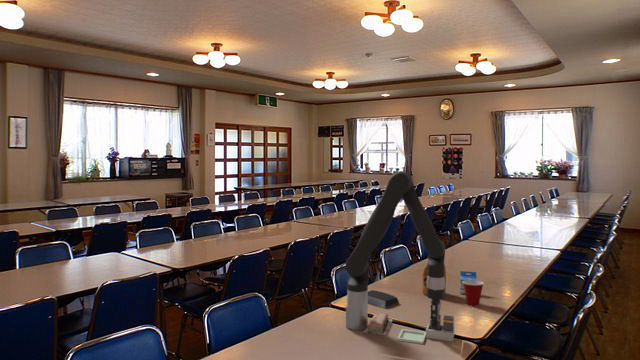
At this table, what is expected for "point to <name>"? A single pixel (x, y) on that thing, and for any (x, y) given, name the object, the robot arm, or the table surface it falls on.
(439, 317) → the plug
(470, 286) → the plastic cup
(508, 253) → the table surface
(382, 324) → the packaged product
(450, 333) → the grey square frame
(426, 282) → the coffee package
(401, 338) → the tray
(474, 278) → the label tape box
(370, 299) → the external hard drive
